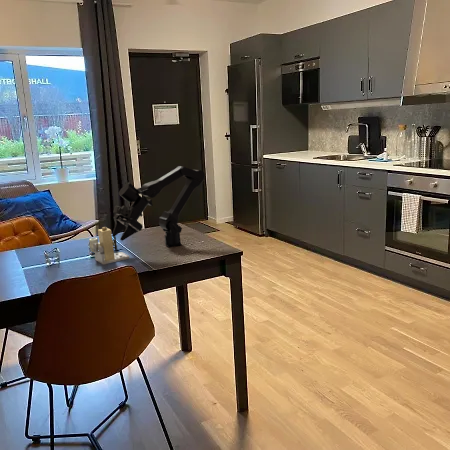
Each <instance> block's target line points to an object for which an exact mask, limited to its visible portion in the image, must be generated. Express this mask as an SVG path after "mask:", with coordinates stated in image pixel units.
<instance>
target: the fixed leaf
mask: <svg viewBox="0 0 450 450" xmlns="http://www.w3.org/2000/svg"><path fill="white" fill-rule="evenodd" d="M98 243H99V242H98ZM98 243H94V244H93V247H94V253H95V254H94V259H95V261H96V262H98V263H99V264H101V265H104V266H105V265H107V264H112V263H115V262H116V263H117V262H119V261H125V260H129V259H130V255H128V254H127V253H125V252H122V251H120V252H114V257H115V258H113V259H109V260H105V255H104V247H103V246H99V248H98ZM98 250H99V251H98Z"/></svg>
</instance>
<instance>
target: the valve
mask: <svg viewBox="0 0 450 450" xmlns="http://www.w3.org/2000/svg"><path fill="white" fill-rule="evenodd" d="M116 236H117V235H116ZM116 236H115V237H113V239H112V241H113V249H114V251H118V245H117V237H116ZM88 240H89V249H90V252H91V251H92V252H94V247H93V244H94V243H98V248H99V246H100V243H99V237H98V238H97V237H92V238H89V239H88Z"/></svg>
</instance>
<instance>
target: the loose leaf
mask: <svg viewBox="0 0 450 450" xmlns="http://www.w3.org/2000/svg"><path fill="white" fill-rule="evenodd" d="M97 232H98V233H97V235H98V243H100V246H103V247H104V255H105V260H109V259H113V258H115V257H114V253H115V248H113V247H114V246H113V241H112V240H113V236H112V234H113V232H112V230H111V229H110V228H108V227H107V226H102V227H101V228H100V229H97Z"/></svg>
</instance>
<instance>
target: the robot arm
mask: <svg viewBox="0 0 450 450" xmlns="http://www.w3.org/2000/svg"><path fill="white" fill-rule="evenodd" d="M182 177H184V178H185V182H184V183H185V184H184V186H183V187H182V189H181V191H180V192H179V193H178V195H177V198H176V199H175V201H174V202H173V204H172V206H171V208H170V209H169V210H168V211H166V210H163V211H162V214H161V216H159V217H158V218H159V220H158V225H159V227H160V228H161V229H162V231H163V232H164V244H165V246H167V247H168V248H171V247H178V246H183V245H182V243H181V233H182V230H183V228H182V227H181V226H180V225H179V224H178V223H179V218H180V214H181V212H182V211H183V209H184V207H185V206H186V204H187V202H188V201H189V199H190V197H191V195H192V194H193V192H194V191H195V189H197V188H198V187H199V186H200V185H201V184H202V183H203V182H204V181H205V179H206V176H205V172H204V171H203V170H200V169H191V168H188V167H185V166H184V165H183V166H181V165H178V166H176V168H174V169H172V170H170V172H168V173H166V174H164V175H163V176H161V177H160V178H158V179H156V180H152V181H149V182H146V183H144V184H142V185H141V186H140V187H135V186H134V184H132V183H131V182H127V183H126V184H125V185H124V186H123V187H121V188H120V189H119V192H118V195H119V196H120V197H121V198H123V199H124V201H127V202H128V203H131V205H130V206H126V205H122V206H119V205H115V206H114V208H113V214H114V215H113V220H114V223H115V224H114V228H113V231H112V238H114V237H115V236H118V234H120V233H121V232H123V233H122V235H121V236H120V241H121V242H123V241H124V240H126V239H127V238H129V237H131V236H132V235H134V234H136V233H138V232H141V231H142V230H143V224H142V223H140V222H139V221H138V220H139V218H140V217H143V212H144V211H145V209H146V208H147V206H151V207H153V206H154V204H153V199H151V198H155V197H157V196H158V195H159V194H160V193H161V192H162V190H163V189H164V188H166V187H167V186H169V185H170V184H172V183H173V182H175V181H177V180H178V179H180V178H182ZM123 230H124V231H123Z"/></svg>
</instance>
